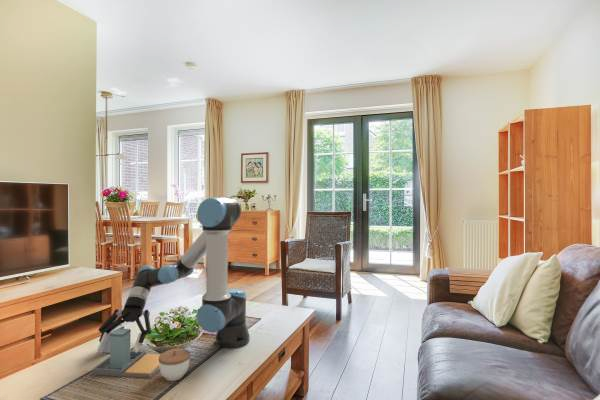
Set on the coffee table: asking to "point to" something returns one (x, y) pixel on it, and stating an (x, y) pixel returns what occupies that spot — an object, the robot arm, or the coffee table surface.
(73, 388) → the coffee table surface
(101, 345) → the robot arm
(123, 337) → the block
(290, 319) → the coffee table surface
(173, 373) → the lidded jar
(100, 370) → the shallow grey tray
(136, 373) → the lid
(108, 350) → the medicine box
